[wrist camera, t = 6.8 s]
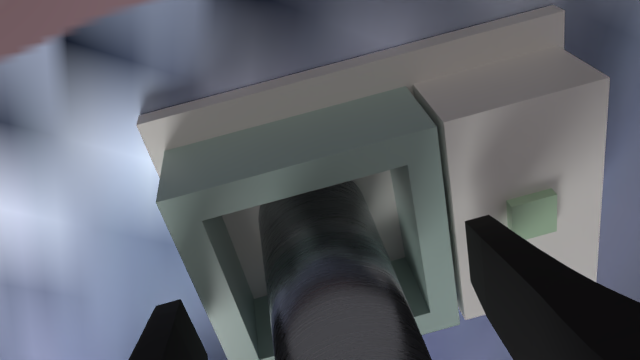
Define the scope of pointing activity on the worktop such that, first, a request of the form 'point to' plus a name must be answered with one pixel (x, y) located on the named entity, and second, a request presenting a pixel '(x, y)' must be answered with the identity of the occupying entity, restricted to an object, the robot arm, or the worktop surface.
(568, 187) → the charger
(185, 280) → the worktop surface
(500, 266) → the robot arm
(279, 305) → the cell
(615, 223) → the worktop surface
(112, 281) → the worktop surface
